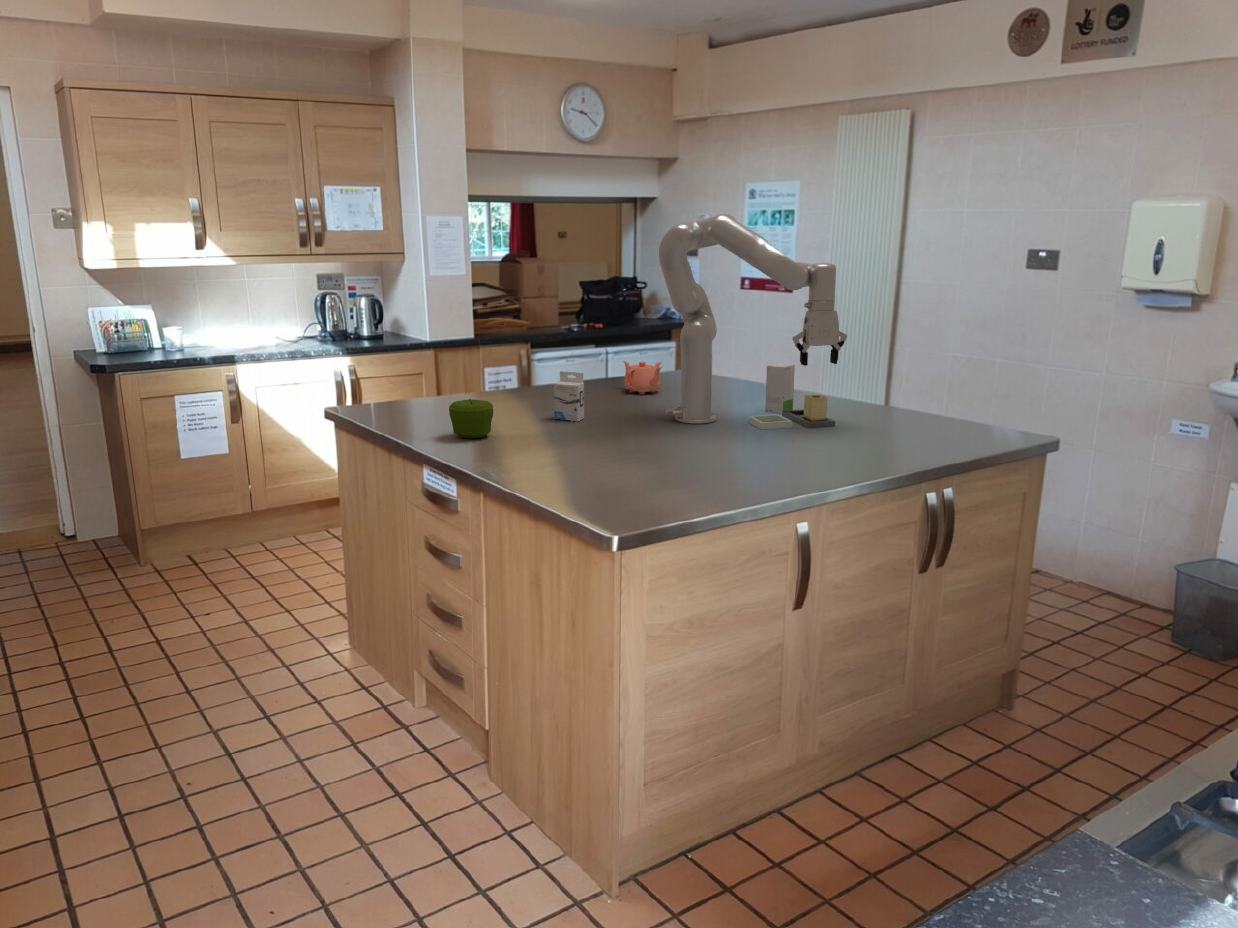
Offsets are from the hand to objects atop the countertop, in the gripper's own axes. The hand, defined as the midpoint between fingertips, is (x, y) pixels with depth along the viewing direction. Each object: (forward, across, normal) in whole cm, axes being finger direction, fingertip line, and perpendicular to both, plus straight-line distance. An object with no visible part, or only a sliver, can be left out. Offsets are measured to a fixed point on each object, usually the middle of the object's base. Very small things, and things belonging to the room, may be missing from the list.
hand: (818, 364), depth 276 cm
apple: (+18, -102, +14) cm, 105 cm away
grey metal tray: (+19, 0, +5) cm, 20 cm away
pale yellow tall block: (+18, 0, 0) cm, 18 cm away
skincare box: (+19, -2, +22) cm, 29 cm away
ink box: (+18, -70, +29) cm, 78 cm away
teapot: (+18, -34, +67) cm, 77 cm away
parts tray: (+19, -14, +3) cm, 24 cm away
